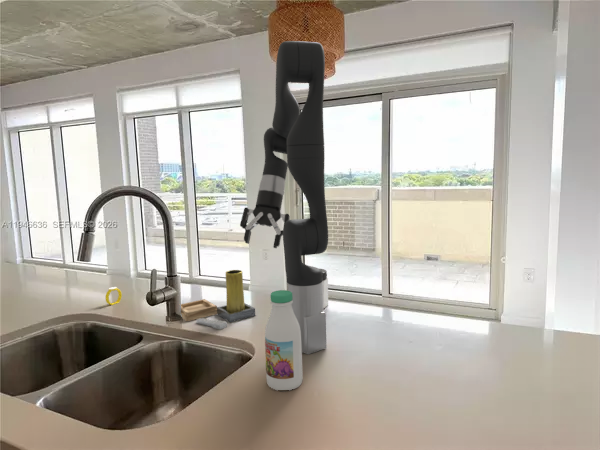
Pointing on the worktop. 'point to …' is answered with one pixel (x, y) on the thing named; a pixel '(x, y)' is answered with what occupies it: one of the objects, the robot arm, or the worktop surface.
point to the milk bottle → (283, 344)
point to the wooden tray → (197, 309)
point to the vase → (234, 291)
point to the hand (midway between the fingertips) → (261, 245)
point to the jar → (325, 288)
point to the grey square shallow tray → (235, 313)
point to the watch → (109, 294)
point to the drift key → (212, 323)
